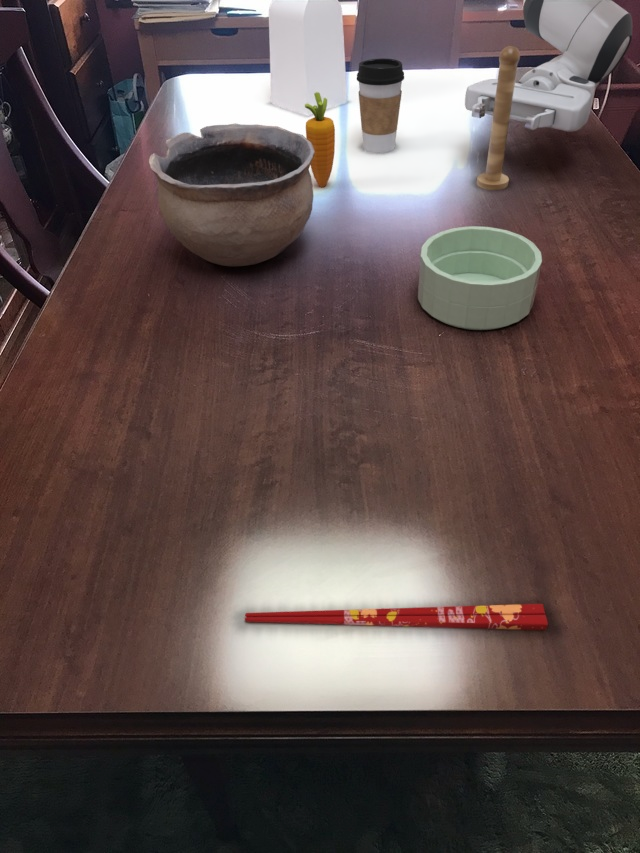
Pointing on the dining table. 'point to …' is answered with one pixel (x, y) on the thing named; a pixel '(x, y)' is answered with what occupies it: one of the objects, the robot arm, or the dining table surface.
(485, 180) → the muddler
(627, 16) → the robot arm
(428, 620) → the chopstick
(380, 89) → the coffee cup
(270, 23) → the milk
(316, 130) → the carrot
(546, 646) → the dining table surface
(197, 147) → the ceramic bowl
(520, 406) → the dining table surface
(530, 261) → the celadon bowl
